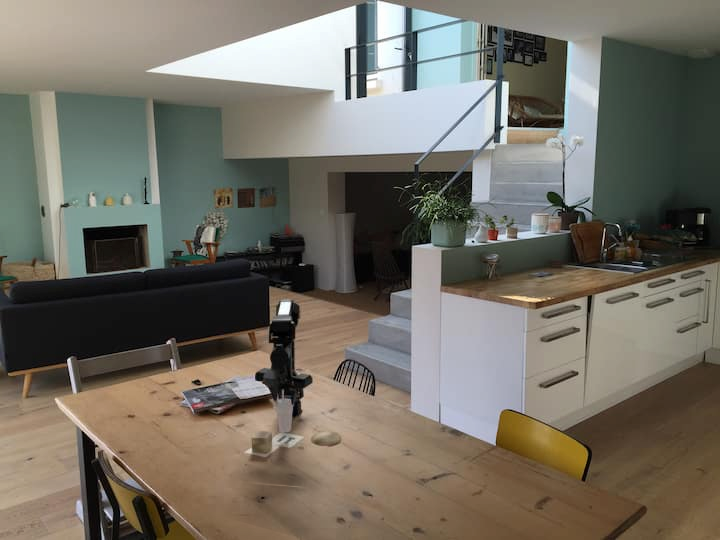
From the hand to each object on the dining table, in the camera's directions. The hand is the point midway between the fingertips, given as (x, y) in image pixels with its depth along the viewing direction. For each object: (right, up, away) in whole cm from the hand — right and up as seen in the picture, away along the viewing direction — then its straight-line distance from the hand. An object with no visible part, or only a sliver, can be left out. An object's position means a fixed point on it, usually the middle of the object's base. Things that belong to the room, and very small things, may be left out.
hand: (284, 402), depth 195 cm
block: (-6, -14, -5) cm, 16 cm away
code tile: (0, -13, +2) cm, 13 cm away
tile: (-6, -14, -5) cm, 16 cm away
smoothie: (0, -9, +2) cm, 10 cm away
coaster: (+13, -13, +2) cm, 19 cm away
